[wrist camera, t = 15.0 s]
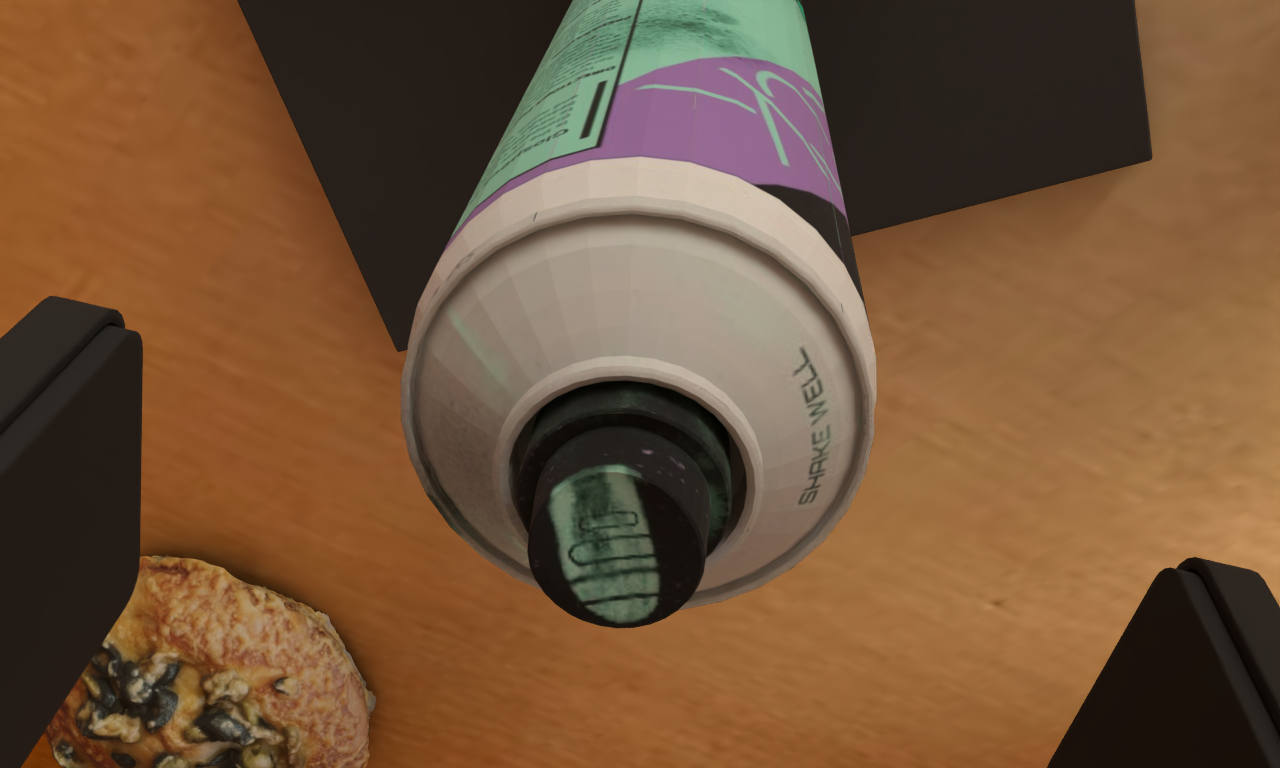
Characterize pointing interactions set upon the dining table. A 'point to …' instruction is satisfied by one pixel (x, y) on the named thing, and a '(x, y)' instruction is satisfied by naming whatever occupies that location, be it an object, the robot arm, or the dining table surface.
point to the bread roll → (214, 681)
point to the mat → (848, 78)
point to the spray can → (650, 319)
